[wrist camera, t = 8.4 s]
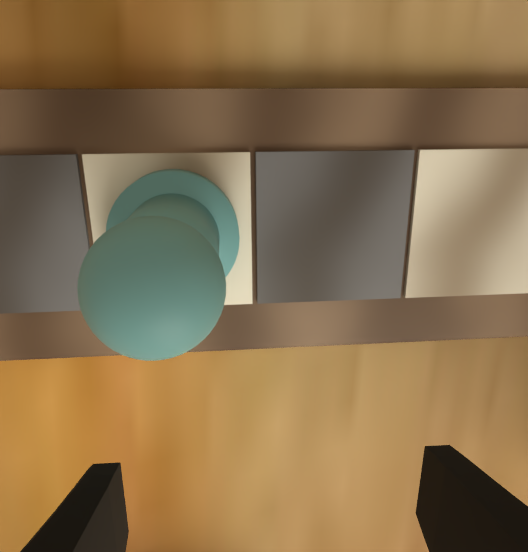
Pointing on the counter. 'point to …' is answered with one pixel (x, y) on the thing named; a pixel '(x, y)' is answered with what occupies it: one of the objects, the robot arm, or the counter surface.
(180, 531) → the counter surface
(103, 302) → the pawn
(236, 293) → the board
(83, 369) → the counter surface
